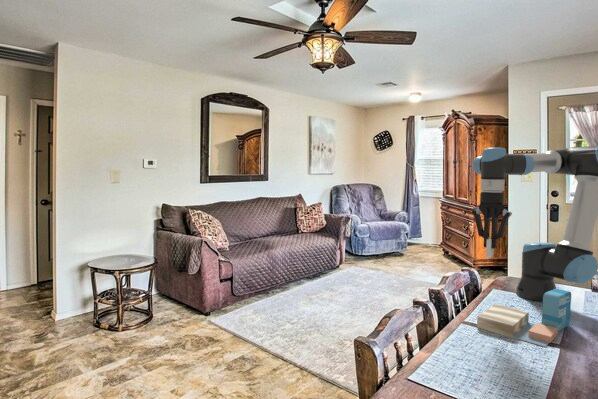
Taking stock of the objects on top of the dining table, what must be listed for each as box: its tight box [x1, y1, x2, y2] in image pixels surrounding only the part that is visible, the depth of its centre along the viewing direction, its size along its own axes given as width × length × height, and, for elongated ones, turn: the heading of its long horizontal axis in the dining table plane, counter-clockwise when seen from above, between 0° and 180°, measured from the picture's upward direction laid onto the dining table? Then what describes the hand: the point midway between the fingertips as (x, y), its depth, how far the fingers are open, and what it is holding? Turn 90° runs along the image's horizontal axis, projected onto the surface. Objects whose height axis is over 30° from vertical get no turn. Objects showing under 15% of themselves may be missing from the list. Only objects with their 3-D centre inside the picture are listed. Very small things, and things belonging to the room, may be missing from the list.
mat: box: [512, 321, 560, 348], centre depth 122 cm, size 17×9×1 cm, turn 134°
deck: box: [476, 303, 530, 339], centre depth 129 cm, size 17×11×4 cm, turn 134°
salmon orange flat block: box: [528, 322, 559, 344], centre depth 120 cm, size 9×6×2 cm, turn 134°
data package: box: [541, 288, 572, 332], centre depth 127 cm, size 12×4×12 cm, turn 127°
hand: (489, 256), depth 135 cm, fingers closed
